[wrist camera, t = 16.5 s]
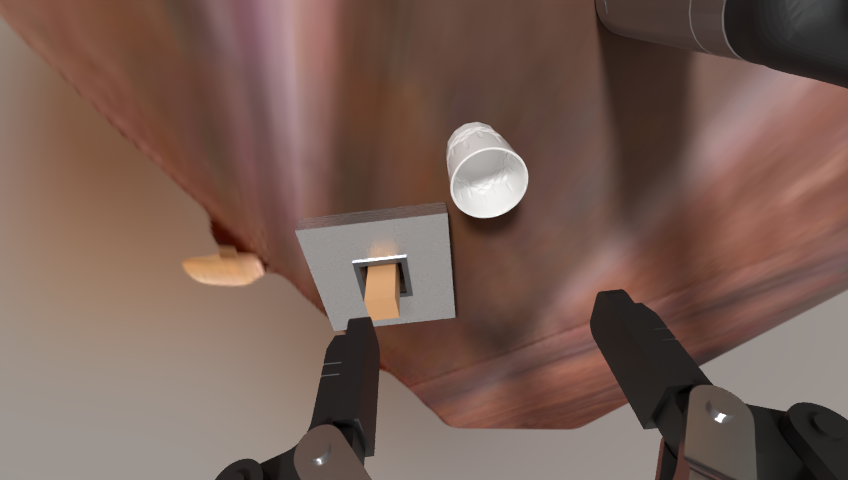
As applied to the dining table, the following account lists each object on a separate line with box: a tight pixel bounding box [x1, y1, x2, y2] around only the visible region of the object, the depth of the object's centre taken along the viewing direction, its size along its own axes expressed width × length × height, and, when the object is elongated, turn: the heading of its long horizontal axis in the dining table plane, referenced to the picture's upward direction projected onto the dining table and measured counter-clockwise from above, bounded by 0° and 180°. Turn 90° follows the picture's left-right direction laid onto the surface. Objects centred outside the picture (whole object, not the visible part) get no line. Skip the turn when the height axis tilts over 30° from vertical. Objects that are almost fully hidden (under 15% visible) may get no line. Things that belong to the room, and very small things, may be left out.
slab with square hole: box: [295, 202, 455, 331], centre depth 52 cm, size 20×20×3 cm
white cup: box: [446, 122, 528, 218], centre depth 39 cm, size 8×8×10 cm
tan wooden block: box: [364, 263, 400, 321], centre depth 50 cm, size 4×4×9 cm
